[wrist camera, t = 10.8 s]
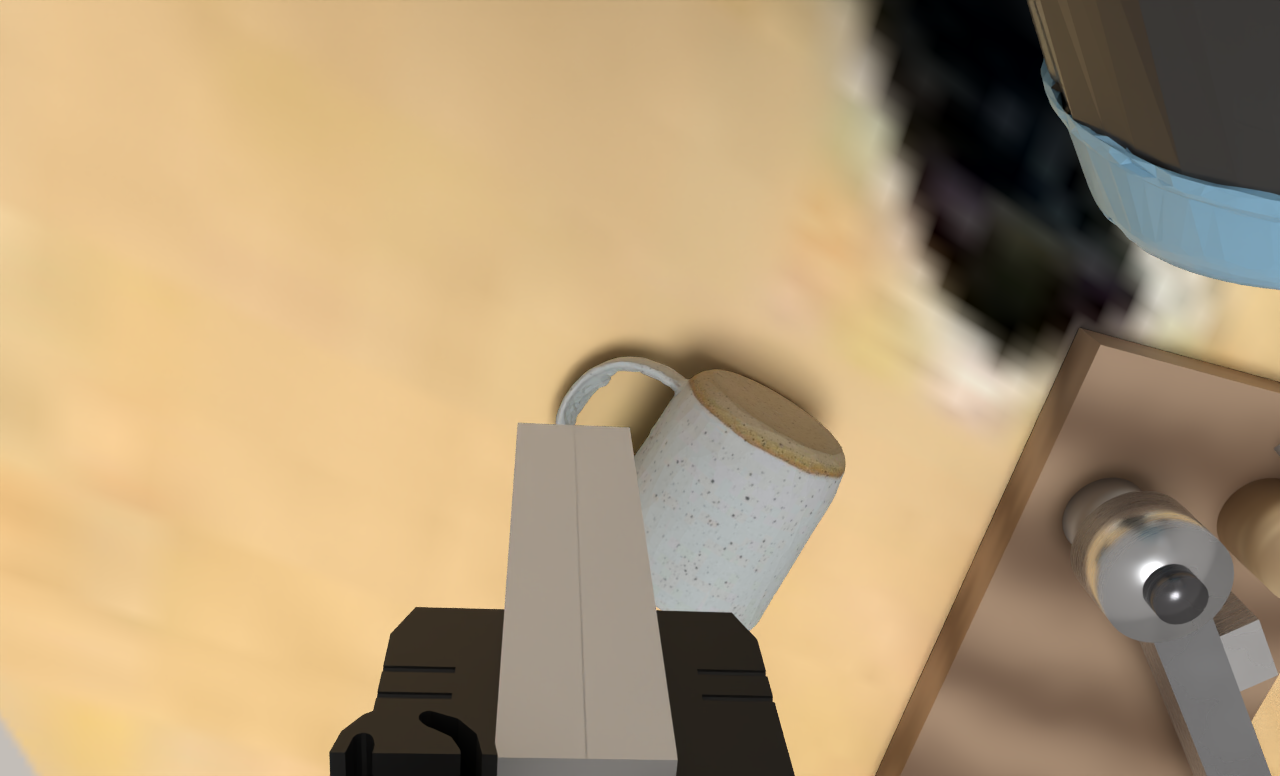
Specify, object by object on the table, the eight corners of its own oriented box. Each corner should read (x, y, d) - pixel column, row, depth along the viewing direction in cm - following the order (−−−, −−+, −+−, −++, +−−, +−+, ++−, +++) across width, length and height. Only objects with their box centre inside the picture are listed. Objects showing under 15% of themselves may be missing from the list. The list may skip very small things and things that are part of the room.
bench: (1079, 327, 47) (1148, 383, 42) (1389, 412, 50) (1494, 475, 44) (817, 903, 59) (844, 1007, 53) (1081, 948, 61) (1134, 1052, 56)
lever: (1043, 512, 47) (1097, 579, 42) (1167, 455, 46) (1235, 516, 41) (1216, 919, 56) (1275, 1009, 51) (1321, 876, 55) (1390, 963, 51)
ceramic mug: (837, 411, 48) (883, 496, 41) (739, 563, 51) (765, 669, 44) (612, 298, 46) (619, 368, 39) (520, 464, 48) (511, 559, 41)
